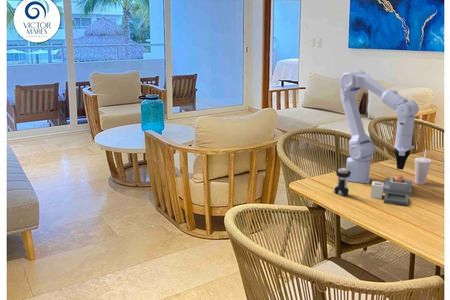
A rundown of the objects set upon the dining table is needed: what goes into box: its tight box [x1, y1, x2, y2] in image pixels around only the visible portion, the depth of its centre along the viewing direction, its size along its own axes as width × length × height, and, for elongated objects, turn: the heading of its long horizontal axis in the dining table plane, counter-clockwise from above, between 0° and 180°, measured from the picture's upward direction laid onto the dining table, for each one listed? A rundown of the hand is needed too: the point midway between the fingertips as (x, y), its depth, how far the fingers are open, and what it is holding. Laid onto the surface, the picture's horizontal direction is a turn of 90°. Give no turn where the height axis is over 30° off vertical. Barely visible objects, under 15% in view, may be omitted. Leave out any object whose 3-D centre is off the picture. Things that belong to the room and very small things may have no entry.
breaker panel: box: [383, 176, 413, 198], centre depth 183 cm, size 10×12×4 cm
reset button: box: [394, 174, 404, 183], centre depth 180 cm, size 3×3×3 cm
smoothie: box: [413, 148, 432, 185], centre depth 189 cm, size 6×6×14 cm
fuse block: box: [370, 180, 385, 200], centre depth 176 cm, size 4×4×6 cm
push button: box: [331, 167, 351, 197], centre depth 177 cm, size 7×5×10 cm
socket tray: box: [383, 192, 409, 207], centre depth 172 cm, size 8×8×1 cm
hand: (400, 168), depth 178 cm, fingers closed
